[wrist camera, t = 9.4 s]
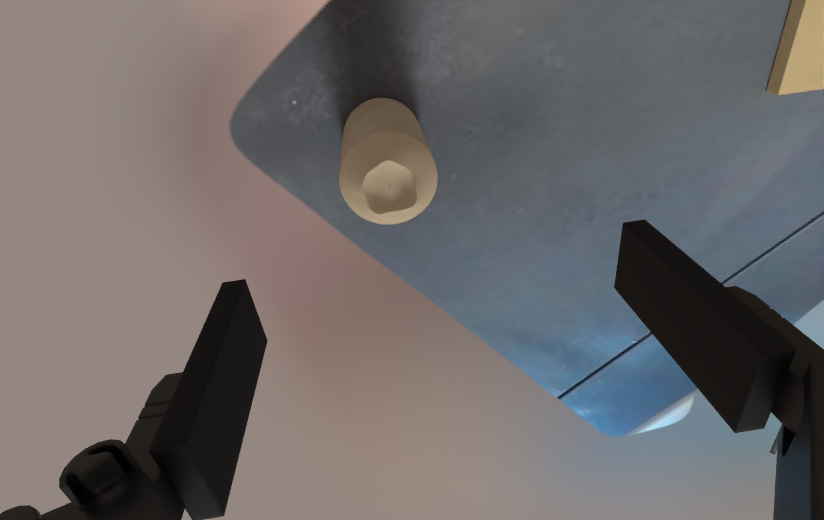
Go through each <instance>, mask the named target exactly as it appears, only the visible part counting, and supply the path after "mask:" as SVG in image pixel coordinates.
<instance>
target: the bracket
mask: <svg viewBox="0 0 824 520" xmlns="http://www.w3.org/2000/svg"><path fill="white" fill-rule="evenodd" d="M819 89H824V0H792V1H791V5H790V9H789V12H788V16H787V19H786V23H785V26H784V30H783V33H782V37H781V41H780V44H779V48H778V51H777V55H776V58H775V62H774V65H773V69H772V73H771V76H770V80H769V83H768V87H767V90H766V92H769V93H773V94H776V95H782V94H790V93H797V92H805V91H812V90H819Z"/></svg>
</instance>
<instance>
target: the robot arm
mask: <svg viewBox="0 0 824 520" xmlns="http://www.w3.org/2000/svg"><path fill="white" fill-rule="evenodd" d="M614 288H615V289H616V290H617V292H618V293H619V294H620V295H621V296H622V298H623V299H624V300H625V301H626V302H627V304H628V305H629V306H630V307H631V308H632V310H633V311H634V312H635V313H636V314H637V316H638V317H639V318H640V319H641V320H642V322H643V323H644V324H645V325H646V326H647V328H648V329H649V330H650V331H651V333H652V334H653V335H654V336H655V337H656V339H657V340H658V341H659V342H660V343H661V345H662V346H663V347H664V348H665V349H666V351H667V352H668V353H669V354H670V355H671V357H672V358H673V359H674V360H675V361H676V363H677V364H678V365H679V366H680V367H681V369H682V370H683V371H684V372H685V373H686V375H687V376H688V377H689V378H690V379H691V381H692V382H693V383H694V384H695V385H696V387H697V388H698V389H699V390H700V391H701V393H702V394H703V395H704V396H705V397H706V399H707V400H708V401H709V402H710V403H711V405H712V406H713V407H714V408H715V410H716V411H717V412H718V413H719V414H720V416H721V417H722V418H723V419H724V420H725V422H726V423H727V424H728V425H729V426H730V428H731V429H732V430H733V431H734V432H735V433H738V432H744V431H751V430H757V429H763V428H764V427H765V425H766V422H767V420H768V418H769V415H770V413H771V412H772V413H773V414H774V415H775V416H776V417H777V419H779V421H780V422H781V423H782V426H781V428H780V430H779V432H778V435H777V437H776V439H775V441H774V444H773V446H772V448H771V451H770V453H773V454H775V453H776V451H777V464H776V481H775V499H774V518H773V520H824V349H822V348H821V347H820V346H819V345H817V344H816V343H815V342H813V341H812V340H811V339H810V338H808V337H807V336H806V335H805V334H803V333H802V332H801V331H800V330H798V329H797V328H796V327H795V326H793V325H792V324H791V323H790V322H788V321H787V320H786V319H785V318H781V315H780V314H778V313H777V312H776V311H775V310H773V309H770V308H769V306H768V305H767V304H766V303H764V302H763V301H762V300H761V299H759V298H758V297H757V296H756V295H754V294H752V293H750V292H747V291H745V290H743V289H741V288H739V287H737V286H733V287H724V286H723V285H722V284H721V283H720V282H718V281H717V280H716V279H715V278H714V277H712V276H711V275H710V274H709V273H708V272H707V271H705V270H704V269H703V268H702V267H701V266H699V265H698V264H697V263H696V262H695V261H693V260H692V259H691V258H690V257H689V256H687V255H686V254H685V253H684V252H683V251H682V250H680V249H679V248H678V247H677V246H676V245H674V244H673V243H672V242H671V241H670V240H668V239H667V238H666V237H665V236H664V235H662V234H661V233H660V232H659V231H658V230H656V229H655V228H654V227H653V226H652V225H651V224H649V223H648V222H647V221H646V220H639V221H632V222H625V223H623V227H622V235H621V242H620V249H619V257H618V264H617V271H616V279H615V286H614ZM266 344H267V338H266V336H265V333H264V330H263V327H262V324H261V322H260V319H259V316H258V313H257V311H256V309H255V305H254V302H253V300H252V297H251V294H250V291H249V288H248V286H247V283H246V280H245V279H244V280H237V281H230V282H224V283H222V285H221V288H220V290H219V292H218V294H217V297H216V299H215V301H214V303H213V306H212V308H211V310H210V313H209V315H208V317H207V319H206V322H205V324H204V326H203V328H202V330H201V333H200V335H199V337H198V339H197V342H196V344H195V346H194V349H193V351H192V353H191V355H190V358H189V360H188V362H187V364H186V367H185V369H184V371H183V372H182V373H175V374H168V375H166V376H165V377H164V378H163V379H162V380H161V381H160V382H159V383H158V384H157V385H156V386H155V387H154V388H153V389H152V391H151V393H150V395H149V397H148V399H147V401H146V403H145V408H143V409H142V411H141V413H140V415H139V417H138V418H139V420H138V421H136V423H135V425H134V427H133V429H132V431H131V433H130V435H129V437H128V439H127V441H126V443H125V444H124V443H123V442H122V441H120V440H106V441H102V442H98V443H96V444H94V445H92V446H90V447H88V448H86V449H84V450H83V451H82V452H80V453H79V454H78V455H77V456H75V457H74V458H73V459H72V460H71V461H70V462H69V464H68V465H67V466H66V467H65V468H64V470H63V472H62V474H61V477H60V479H59V487H60V489H61V490H62V491H63V492H64V494H65V495H66V496H67V497H68V498H69V499H70V501H71V503H68V504H66V505H64V506H61V507H59V508H57V509H54V510H52V511H50V512H47V513H45V514H43V515H41V514H40V513H39V512H38V511H37V510H36V509H35V508H33V507H31V506H17V507H14V508H12V509H9V510H6V511H4V512H2V513H1V514H0V520H181V518H182V515H183V512H184V509H186V511H187V512H188V514H189V515H190V517H191V518H192V520H203V519H209V518H215V517H221V516H224V513H225V509H226V506H227V502H228V498H229V494H230V490H231V486H232V481H233V477H234V473H235V469H236V465H237V461H238V457H239V453H240V449H241V445H242V441H243V437H244V433H245V429H246V425H247V421H248V417H249V413H250V409H251V405H252V401H253V397H254V393H255V389H256V385H257V380H258V377H259V373H260V369H261V365H262V360H263V356H264V352H265V348H266Z"/></svg>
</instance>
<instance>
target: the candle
mask: <svg viewBox="0 0 824 520" xmlns="http://www.w3.org/2000/svg"><path fill="white" fill-rule="evenodd" d="M437 181H438V174H437V167H436V164H435V161H434V158H433V156H432V153H431V151H430V149H429V146H428V144H427V142H426V139H425V137H424V134H423V132H422V130H421V127H420V125H419V123H418V121H417V119H416V117H415V115H414V114H413V113H412V111H411V110H410V109H409V108H408V107H406V106H405V105H404V104H402V103H400V102H398V101H396V100H393V99H390V98H374V99H370V100H367V101H365V102H363V103H361V104H360V105H359V106H357V107H356V108H355V109H354V110H353V111H352V113H351V114H350V115H349V117H348V119H347V121H346V123H345V127H344V131H343V140H342V152H341V163H340V174H339V182H340V189H341V192H342V195H343V197H344V199H345V201H346V203H347V204H348V206H349V207H350V208H351V209H352V210H353V211H354V212H355V213H356V214H358V215H359V216H361V217H362V218H364V219H366V220H368V221H371V222H374V223H378V224H398V223H402V222H405V221H408V220H410V219H412V218H414V217H415V216H417V215H418V214H420V213H421V212H422V211H423V210H424V209H425V208H426V207H427V206H428V204H429V203H430V202H431V200H432V198H433V196H434V194H435V191H436V187H437Z"/></svg>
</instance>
